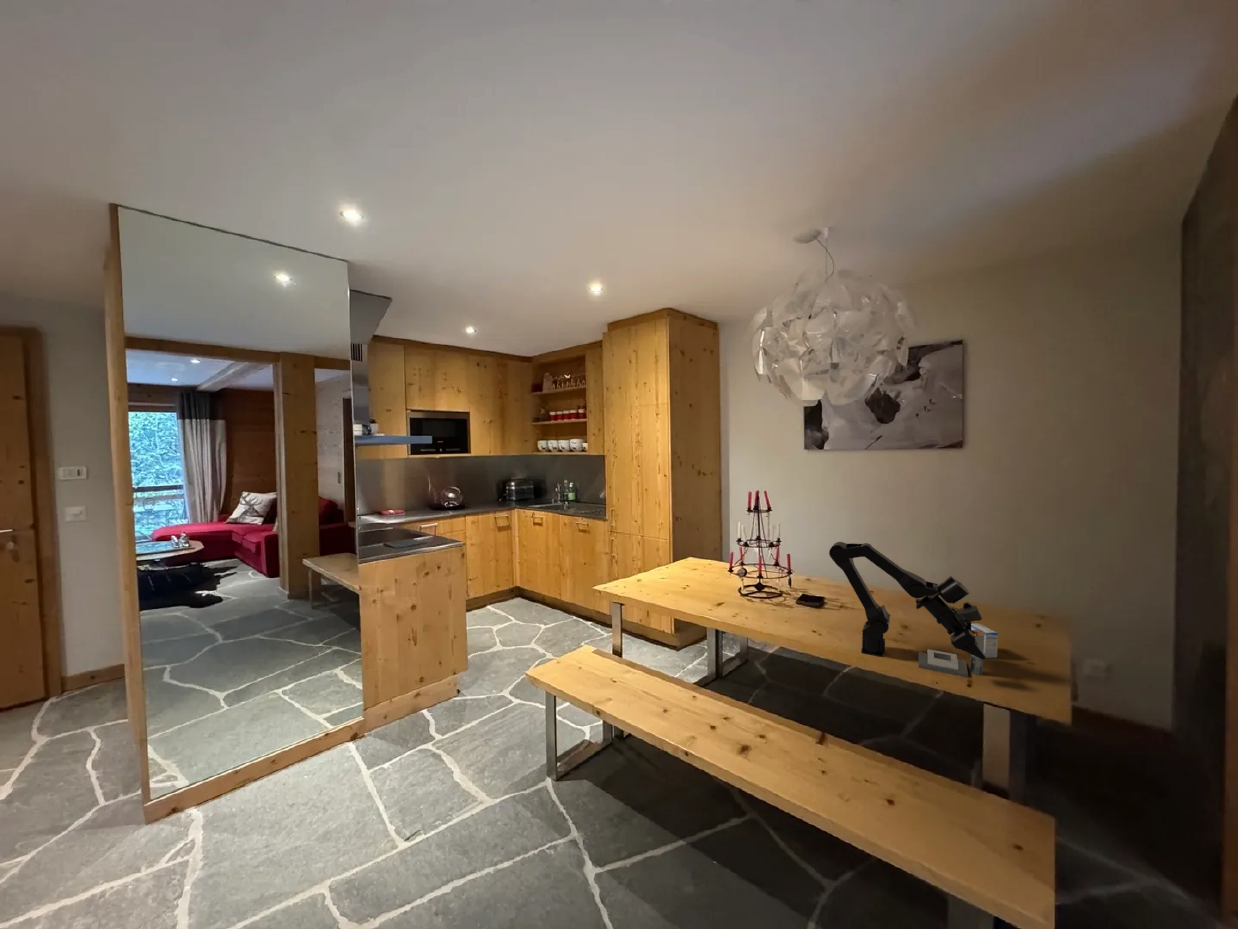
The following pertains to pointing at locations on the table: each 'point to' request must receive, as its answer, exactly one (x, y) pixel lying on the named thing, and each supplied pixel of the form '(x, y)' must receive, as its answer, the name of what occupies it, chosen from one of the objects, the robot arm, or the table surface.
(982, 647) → the steel pin
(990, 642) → the medicine box
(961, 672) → the plate
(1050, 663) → the table surface
